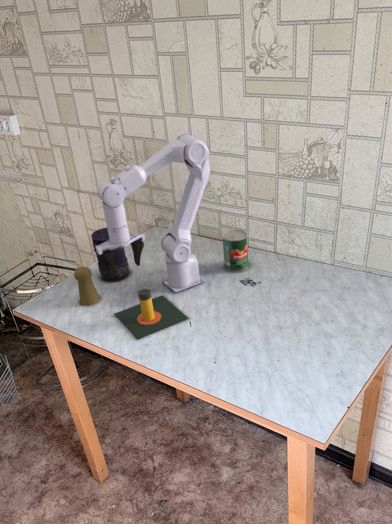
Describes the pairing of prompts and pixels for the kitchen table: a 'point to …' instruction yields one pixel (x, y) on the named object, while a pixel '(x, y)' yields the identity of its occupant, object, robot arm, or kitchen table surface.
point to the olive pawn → (86, 286)
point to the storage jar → (119, 258)
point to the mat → (163, 318)
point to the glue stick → (146, 304)
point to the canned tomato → (235, 250)
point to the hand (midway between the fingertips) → (126, 268)
